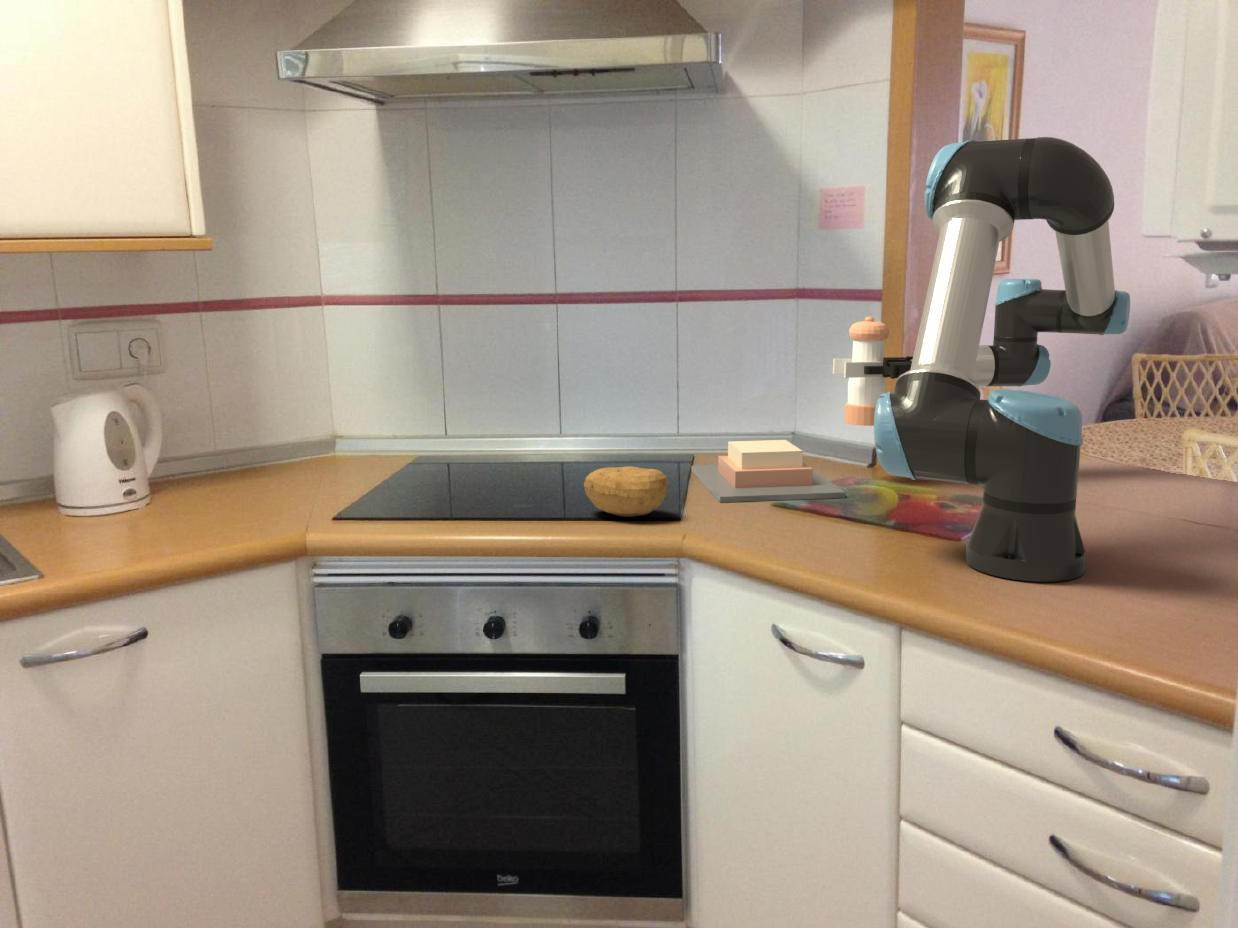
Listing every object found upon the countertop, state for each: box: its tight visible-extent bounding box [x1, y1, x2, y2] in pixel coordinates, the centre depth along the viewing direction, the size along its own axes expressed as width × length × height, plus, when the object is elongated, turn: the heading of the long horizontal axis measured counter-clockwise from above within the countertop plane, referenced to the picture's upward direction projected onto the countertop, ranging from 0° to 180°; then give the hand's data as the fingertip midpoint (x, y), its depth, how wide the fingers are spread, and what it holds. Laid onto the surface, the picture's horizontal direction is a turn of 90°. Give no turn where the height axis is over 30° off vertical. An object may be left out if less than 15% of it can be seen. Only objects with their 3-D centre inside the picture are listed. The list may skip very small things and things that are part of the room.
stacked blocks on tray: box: [691, 439, 846, 504], centre depth 190 cm, size 26×22×7 cm
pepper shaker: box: [844, 316, 890, 427], centre depth 187 cm, size 7×7×19 cm
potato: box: [583, 465, 669, 518], centre depth 168 cm, size 10×14×8 cm
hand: (839, 368), depth 186 cm, fingers closed on pepper shaker, 5 cm apart
